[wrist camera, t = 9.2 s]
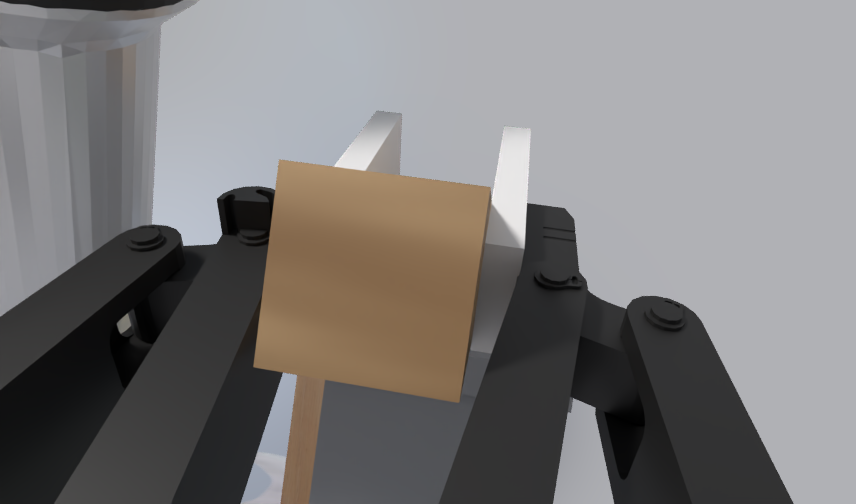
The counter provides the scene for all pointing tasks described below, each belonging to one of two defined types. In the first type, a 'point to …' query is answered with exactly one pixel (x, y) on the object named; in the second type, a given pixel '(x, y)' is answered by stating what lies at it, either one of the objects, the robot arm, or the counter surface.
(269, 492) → the counter surface
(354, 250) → the oak bar
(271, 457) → the counter surface
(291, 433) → the wooden block
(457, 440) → the stand
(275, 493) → the counter surface
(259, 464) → the counter surface
